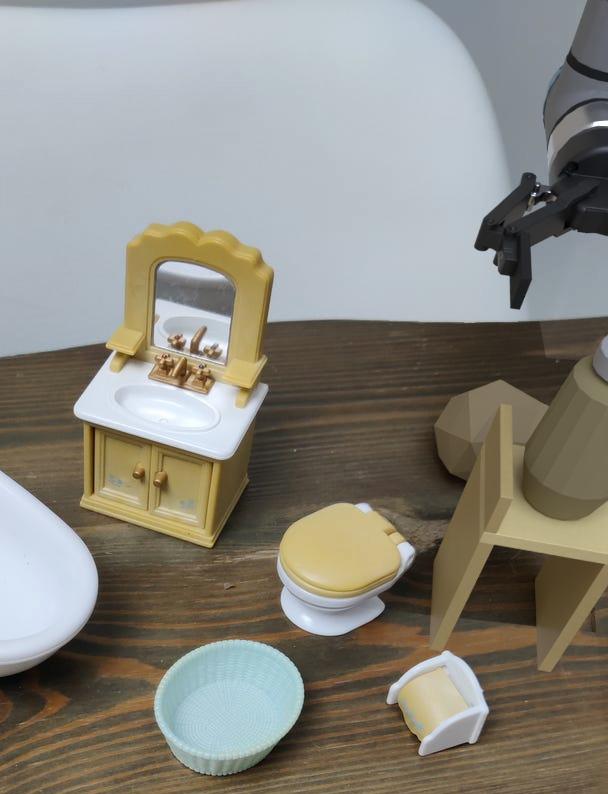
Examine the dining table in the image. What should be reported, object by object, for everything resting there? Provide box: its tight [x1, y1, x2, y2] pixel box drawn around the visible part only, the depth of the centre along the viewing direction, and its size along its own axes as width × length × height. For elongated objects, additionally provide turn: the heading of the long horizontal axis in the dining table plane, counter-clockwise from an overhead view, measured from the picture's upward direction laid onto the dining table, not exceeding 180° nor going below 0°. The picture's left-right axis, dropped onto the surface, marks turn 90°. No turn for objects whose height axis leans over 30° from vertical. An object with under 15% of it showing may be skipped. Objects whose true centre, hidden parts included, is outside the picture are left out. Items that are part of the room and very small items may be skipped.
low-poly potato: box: [433, 379, 550, 482], centre depth 101 cm, size 15×11×12 cm
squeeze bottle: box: [523, 334, 608, 520], centre depth 73 cm, size 8×8×18 cm
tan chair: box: [428, 404, 608, 673], centre depth 85 cm, size 11×11×20 cm
